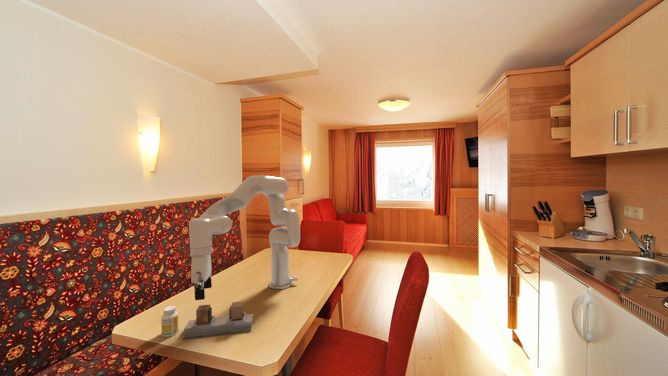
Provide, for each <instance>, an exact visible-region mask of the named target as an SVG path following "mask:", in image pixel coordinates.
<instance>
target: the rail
mask: <svg viewBox="0 0 668 376" xmlns="http://www.w3.org/2000/svg"><path fill="white" fill-rule="evenodd" d="M228 309H229V310H228V313H229V314H228V315H227V316H219V317H218V316H217V317H216V315H212V318H211V320H210V322H209V324H200V325H196V319H193V320H192V319H191V320H190V319H189V321H188V322H187V324H186V325H185V327H184V329H183V335H182V337H181V340H183V341H184V340H190V339H191V340H192V339H198V338H199V339H200V338H209V337H216V336H224V335H232V334H233V335H234V334H241V333H248V332H249V333H250V332H252V327H253V323H254V319H255V318H254V314H253V313H247V312H244V301H235V302H234V301H233V302H232V303H231V305H230V307H229V308H228Z"/></svg>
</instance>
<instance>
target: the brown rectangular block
mask: <svg viewBox="0 0 668 376" xmlns="http://www.w3.org/2000/svg"><path fill="white" fill-rule="evenodd" d="M212 310H213V308H212V307H211V304H210V303H209V304H200V305H198V307H197V309H196V310H195V314H196V315H195V317H196V318H195V320H196V325H200V324H209V322H210V320H211V318H212V316H213V311H212Z"/></svg>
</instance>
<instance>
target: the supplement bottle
mask: <svg viewBox="0 0 668 376" xmlns="http://www.w3.org/2000/svg"><path fill="white" fill-rule="evenodd" d="M178 332H179V312H178V311H177V306H175V305H169V306H167V307H164V308H163V314H162V315H161V336H162V337H165V338H168V337H173V336H174V335H176V334H177V333H178Z"/></svg>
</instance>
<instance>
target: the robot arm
mask: <svg viewBox="0 0 668 376" xmlns="http://www.w3.org/2000/svg"><path fill="white" fill-rule="evenodd" d="M288 190H289V183H288V180H287V179H285V178H283V177H278V176H277V177H276V176H271V175H250V176H248V177H246V178H245V179H244V180H243V181H242V183H240V184H239V185H238V186H237V188H235V189H234V191H233V192H232V193H230V194H229V195H227V196H225V197H224V198H221V199H219V200H218V201H216V202H214V203H213V204H212V205H210V206H209V207H208V208H207V209H206V210H205V211H204V212H203V213H202V214H201V216H199V217H195V218H192V219H190V220H189V222H188V234H189V248H190V249H189V251H190V257H191V263H190V264H191V266H190V267H191V268H190V269H191V270H190V271H191V272H190V277H191V279H190V280H191V283H192V284H193V290H194V299H195V301H203V300H205V299H206V298H205V297H206V295H205V294H206V293H205V289H212V286H213V285H212V272H213V271H212V256H211V254H213V240H212V239H213V238H212V237H213V236H214V235H221V234H222V235H223V234H226V233H228V232H229V231H230V230H231V229H232V226H233V221H232V219H231V218H230V217H229V216H227V214H230V213H233V212H237V211H240V210H242V209H245V208H246V207H247V206H248V205H249V204H250V203H251V201H252V200H253V199H254V198H255V197H256V196H257V195H258V194H263V196H265V197H266V199H267V200H268V205H269V206H268V207H269V217H270V223H271V224H272V225H273V226H277V227H275V228H272V229H271V230H270V232H269V234H268V241H269V245H270V246H269V247H270V255H271V257H270V259H271V261H270V263H271V264H270V265H271V271H270V272H271V281H269V283H268V288H270V289H272V290H273V289H274V290H285V289H287V288H289V287H291V286H292V285H293V282H297V281H298V280H299V279H298V276H295V275H294V276H292V275H290V252H289V249H288V247H289V248H295V247H297V246H298V245H299V244H300V242H301V226H300V225H301V224H300V216H299V213H298V212H297V210H295V209H293V208H287V207H286V200H285V196H284V195H285V194H286V193H287V192H288Z"/></svg>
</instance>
